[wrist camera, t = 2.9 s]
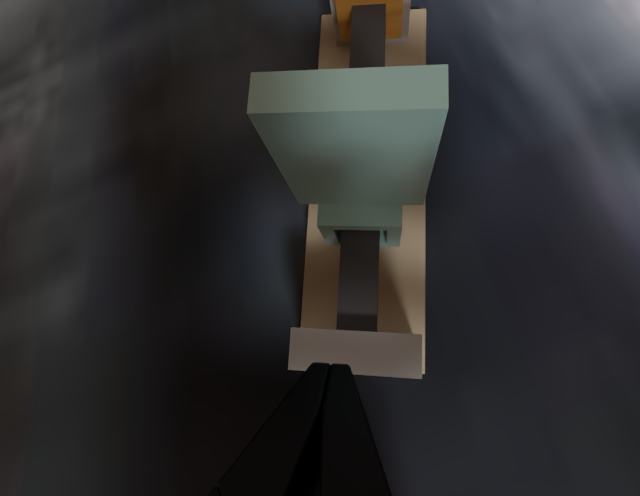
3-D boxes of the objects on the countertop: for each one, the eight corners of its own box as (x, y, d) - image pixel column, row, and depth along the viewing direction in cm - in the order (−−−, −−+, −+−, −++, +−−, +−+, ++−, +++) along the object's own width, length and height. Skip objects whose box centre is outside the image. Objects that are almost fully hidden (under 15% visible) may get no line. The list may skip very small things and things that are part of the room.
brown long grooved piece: (423, 372, 21) (438, 381, 15) (301, 364, 22) (270, 369, 16) (424, 21, 25) (436, -80, 19) (324, 27, 26) (306, -69, 20)
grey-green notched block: (416, 247, 20) (449, 142, 10) (311, 245, 21) (243, 146, 11) (417, 187, 21) (447, 32, 11) (314, 186, 21) (254, 42, 11)
